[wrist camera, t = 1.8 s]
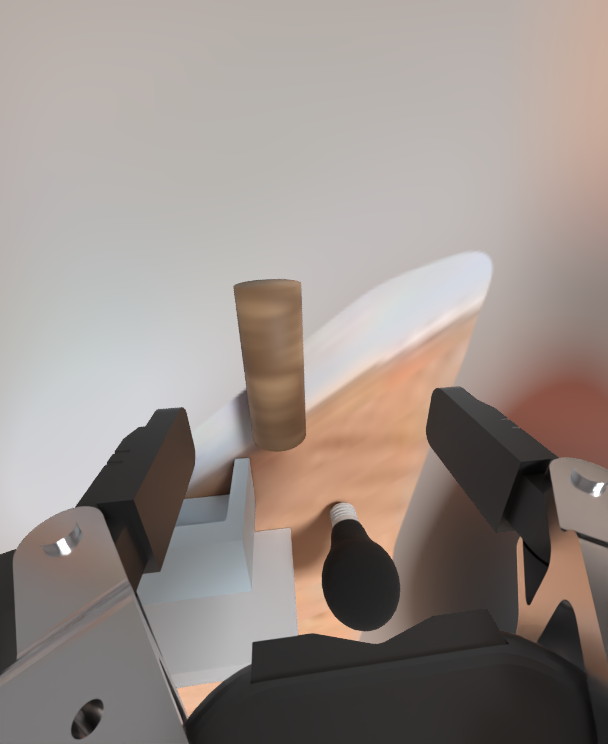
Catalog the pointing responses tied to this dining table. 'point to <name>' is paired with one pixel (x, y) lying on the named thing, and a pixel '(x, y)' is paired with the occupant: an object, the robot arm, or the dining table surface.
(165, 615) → the base plate
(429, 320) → the dining table surface
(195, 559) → the sleeve block
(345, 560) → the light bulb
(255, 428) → the dowel
